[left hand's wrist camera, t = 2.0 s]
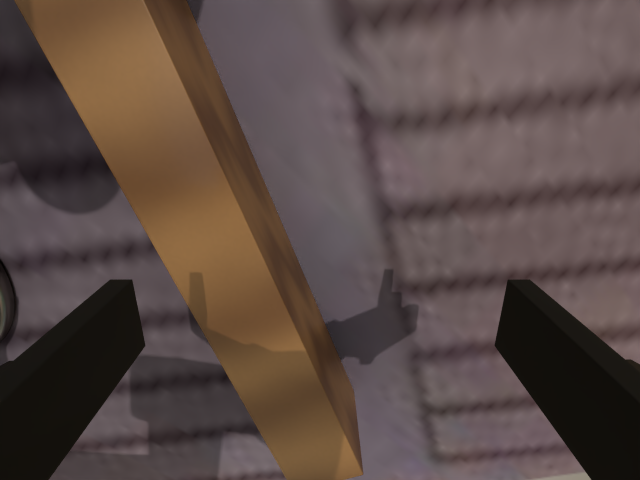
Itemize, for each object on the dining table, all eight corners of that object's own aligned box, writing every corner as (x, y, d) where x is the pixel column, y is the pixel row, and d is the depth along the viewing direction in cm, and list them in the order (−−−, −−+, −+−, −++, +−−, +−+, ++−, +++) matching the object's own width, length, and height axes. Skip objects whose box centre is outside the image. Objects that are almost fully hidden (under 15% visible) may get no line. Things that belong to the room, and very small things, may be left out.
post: (354, 391, 35) (363, 475, 27) (300, 407, 36) (294, 492, 28) (33, -358, 18) (-181, -702, 11) (-57, -302, 19) (-320, -585, 11)
